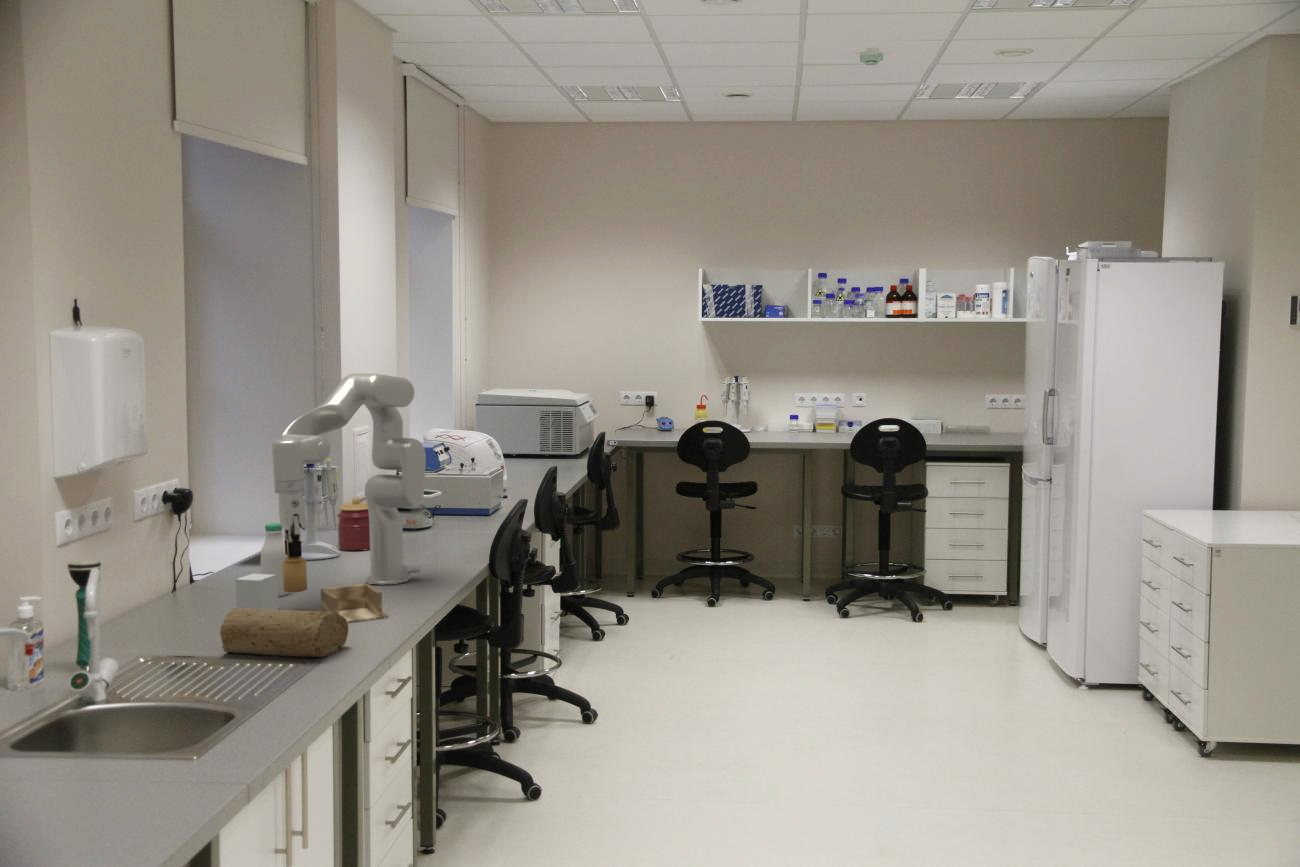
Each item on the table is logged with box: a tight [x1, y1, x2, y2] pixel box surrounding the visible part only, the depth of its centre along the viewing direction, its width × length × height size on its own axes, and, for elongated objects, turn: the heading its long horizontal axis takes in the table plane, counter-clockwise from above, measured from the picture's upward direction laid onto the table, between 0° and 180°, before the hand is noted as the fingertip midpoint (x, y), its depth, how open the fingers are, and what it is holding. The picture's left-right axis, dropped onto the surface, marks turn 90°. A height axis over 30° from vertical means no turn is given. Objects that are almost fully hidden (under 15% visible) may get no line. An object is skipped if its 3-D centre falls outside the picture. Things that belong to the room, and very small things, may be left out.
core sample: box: [219, 607, 349, 658], centre depth 272 cm, size 14×26×10 cm, turn 78°
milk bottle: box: [260, 522, 291, 597], centre depth 332 cm, size 8×8×20 cm
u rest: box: [319, 583, 389, 624], centre depth 306 cm, size 15×14×7 cm
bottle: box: [282, 533, 308, 593], centre depth 310 cm, size 6×6×15 cm
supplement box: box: [235, 573, 279, 610], centre depth 296 cm, size 7×7×13 cm
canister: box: [336, 496, 370, 551], centre depth 403 cm, size 13×13×18 cm
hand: (293, 554), depth 310 cm, fingers closed on bottle, 3 cm apart
